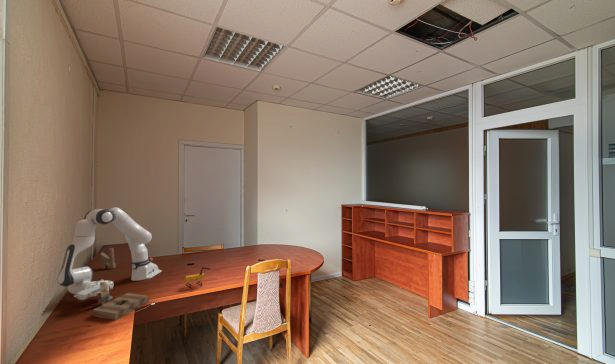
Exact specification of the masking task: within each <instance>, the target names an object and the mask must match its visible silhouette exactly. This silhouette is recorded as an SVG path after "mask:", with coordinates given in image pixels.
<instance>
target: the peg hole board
mask: <svg viewBox="0 0 615 364" xmlns="http://www.w3.org/2000/svg"><path fill="white" fill-rule="evenodd" d="M149 302H150V301H149V296H148V295H144V294H138V293H131V292H127V293H124V294H123V295H120V296H118V297H116V298H114V299H111V300H110V302H108V303H106V304H104V305H102V304H101V305H99V306H98V307H96V308H94V309H92V312H93V313H92V315H93V317H96V318H100V319H101V318H102V319H106V320H107V319H108V320H112V321H117V320H119V319H120V318H122V317H124V316H126V315H127V314H130V313H131V312H133V311H135V310H137V309H138V308H141V307H142V306H144V305H146V304H147V303H149Z"/></svg>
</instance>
